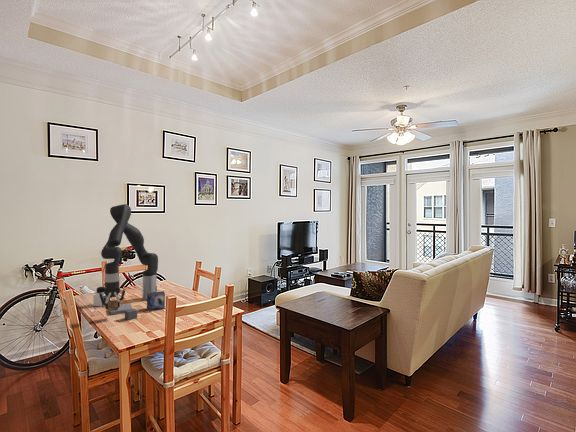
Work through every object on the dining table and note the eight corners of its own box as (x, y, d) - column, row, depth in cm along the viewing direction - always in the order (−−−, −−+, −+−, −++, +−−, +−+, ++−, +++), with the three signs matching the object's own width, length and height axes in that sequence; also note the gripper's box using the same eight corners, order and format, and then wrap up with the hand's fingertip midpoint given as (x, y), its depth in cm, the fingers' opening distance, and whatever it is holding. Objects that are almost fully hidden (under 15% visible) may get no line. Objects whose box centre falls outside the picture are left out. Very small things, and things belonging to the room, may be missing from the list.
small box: (147, 311, 203) (147, 295, 202) (146, 308, 209) (146, 292, 208) (164, 309, 208) (165, 293, 207) (163, 306, 213) (163, 290, 213)
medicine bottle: (102, 306, 210) (102, 288, 210) (93, 305, 211) (93, 288, 211) (110, 303, 217) (110, 286, 217) (101, 302, 218) (101, 285, 218)
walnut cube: (117, 307, 192) (116, 299, 192) (117, 310, 188) (117, 301, 188) (107, 309, 189) (107, 300, 189) (108, 311, 185) (107, 303, 185)
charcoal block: (133, 316, 193) (133, 308, 193) (137, 318, 190) (137, 310, 190) (124, 318, 189) (124, 310, 189) (128, 320, 186) (128, 312, 186)
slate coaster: (130, 306, 211) (130, 303, 211) (132, 312, 201) (132, 308, 201) (109, 309, 204) (109, 306, 204) (110, 315, 194) (110, 311, 194)
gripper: (125, 277, 195) (125, 304, 195) (97, 280, 187) (98, 308, 188) (126, 280, 188) (126, 308, 189) (98, 283, 181) (98, 312, 181)
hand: (112, 308), depth 188 cm, fingers closed on walnut cube, 5 cm apart
